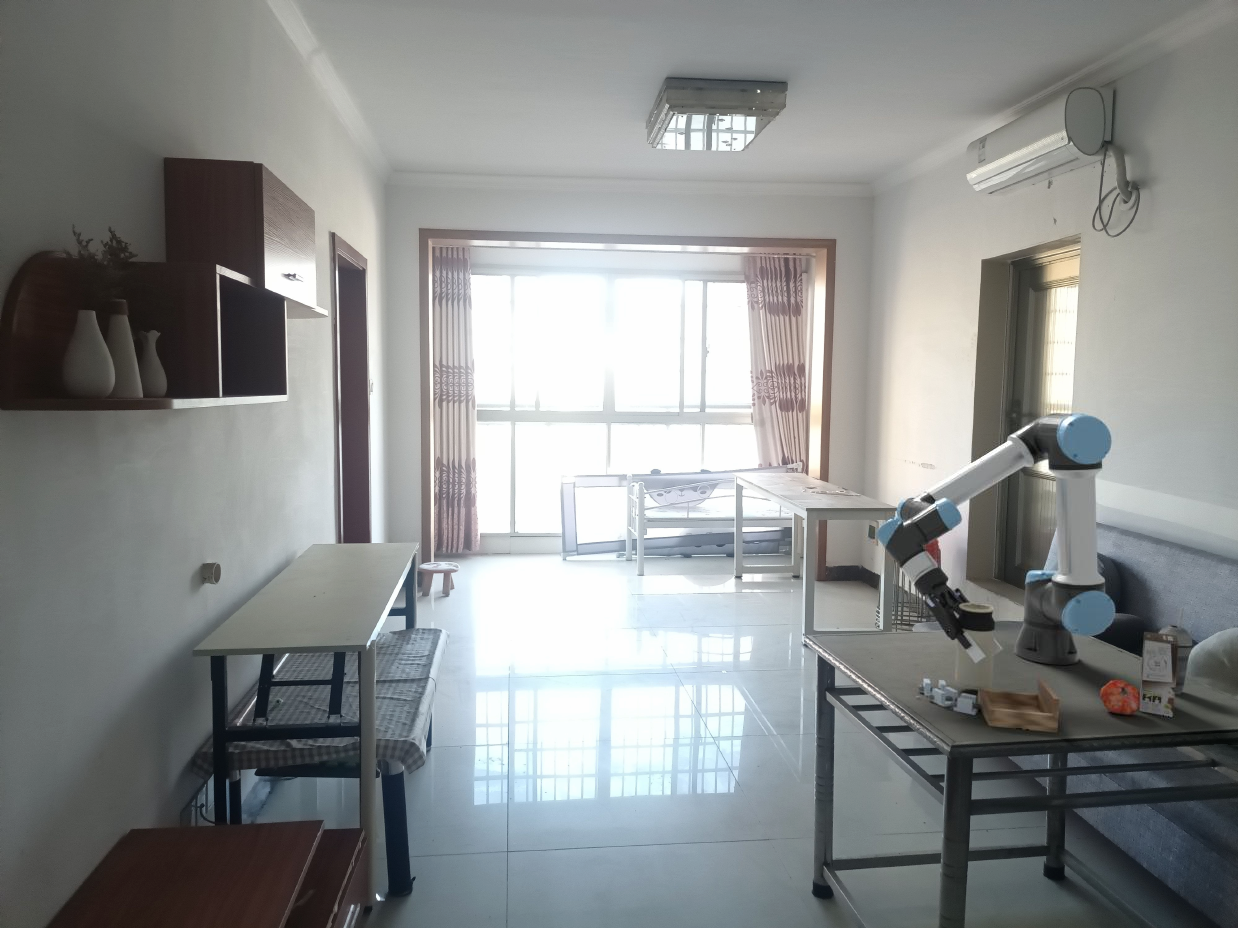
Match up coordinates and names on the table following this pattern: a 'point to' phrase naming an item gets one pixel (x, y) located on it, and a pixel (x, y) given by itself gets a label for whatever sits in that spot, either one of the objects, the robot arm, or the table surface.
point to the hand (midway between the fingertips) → (989, 655)
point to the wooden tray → (1021, 708)
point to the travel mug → (982, 631)
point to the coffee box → (1158, 673)
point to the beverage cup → (1180, 651)
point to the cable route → (950, 697)
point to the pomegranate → (1120, 697)
